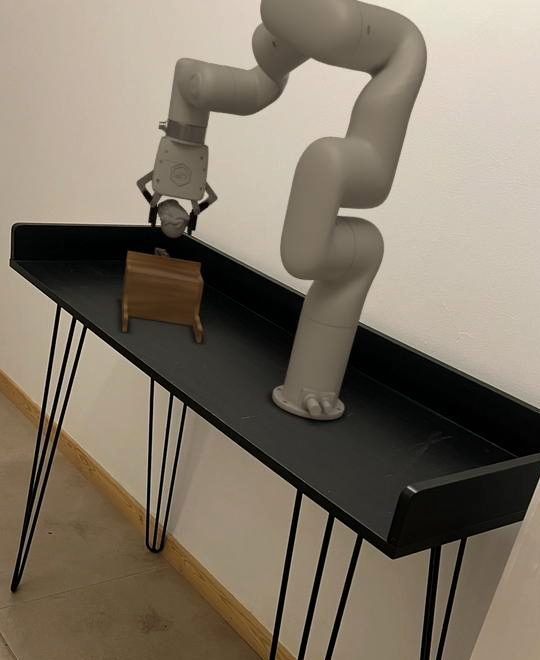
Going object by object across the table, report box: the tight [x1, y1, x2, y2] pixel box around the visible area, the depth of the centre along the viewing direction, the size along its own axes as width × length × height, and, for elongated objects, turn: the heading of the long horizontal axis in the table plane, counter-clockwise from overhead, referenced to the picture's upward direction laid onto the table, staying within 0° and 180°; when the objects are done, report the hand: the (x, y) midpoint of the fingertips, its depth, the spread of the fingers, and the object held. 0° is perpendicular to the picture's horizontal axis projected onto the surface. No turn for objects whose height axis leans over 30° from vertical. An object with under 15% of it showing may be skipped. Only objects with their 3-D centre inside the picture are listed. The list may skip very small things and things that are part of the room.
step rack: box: [120, 250, 205, 344], centre depth 168 cm, size 20×15×10 cm
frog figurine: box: [157, 198, 190, 239], centre depth 165 cm, size 6×7×7 cm
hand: (171, 229), depth 166 cm, fingers closed on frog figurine, 6 cm apart
